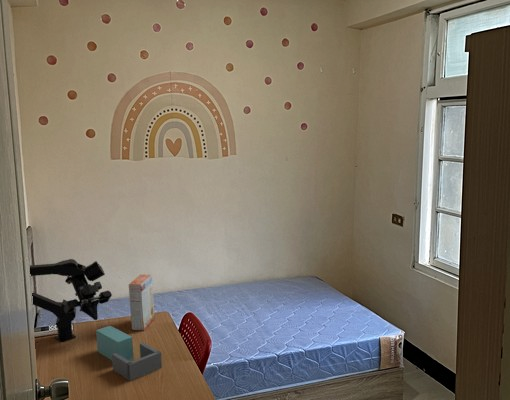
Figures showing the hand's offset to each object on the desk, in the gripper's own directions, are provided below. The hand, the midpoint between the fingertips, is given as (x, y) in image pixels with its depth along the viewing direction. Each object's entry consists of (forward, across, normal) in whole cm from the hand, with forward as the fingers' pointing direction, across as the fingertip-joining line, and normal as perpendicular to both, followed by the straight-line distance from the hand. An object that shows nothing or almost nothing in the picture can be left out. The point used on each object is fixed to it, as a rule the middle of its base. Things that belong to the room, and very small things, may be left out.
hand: (96, 319), depth 199 cm
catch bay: (+28, 0, -13) cm, 31 cm away
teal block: (+17, 0, -2) cm, 17 cm away
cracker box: (+5, +24, +10) cm, 26 cm away
